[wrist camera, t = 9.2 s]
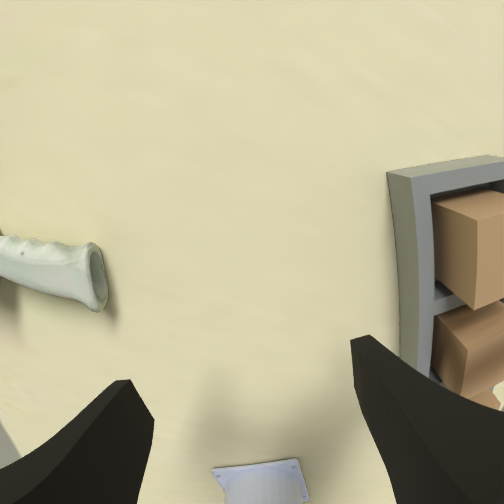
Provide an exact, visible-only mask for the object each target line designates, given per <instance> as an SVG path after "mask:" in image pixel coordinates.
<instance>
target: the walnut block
mask: <svg viewBox="0 0 504 504" xmlns="http://www.w3.org/2000/svg"><path fill="white" fill-rule="evenodd" d="M430 364H431V365H432V366H433V368H434V369H435V371H436V372H437V374H438V375H439V376H440V378H441V379H442V381H443V382H444V384H445V385H446V387H447V388H448V390H450V391H452V392H454V393H456V394H458V395H460V396H463V397H465V398H467V399H470V398H472V397H474V396H476V395H478V394H480V393H482V392H484V391H486V390H487V389H489V388H491V387H493V386H495V385H496V384H498V383H500V382H502V381H503V380H504V304H503V303H502V302H501V301H499V300H497V301H495V302H493V303H490V304H488V305H486V306H483V307H481V308H479V309H476V310H473V309H472V308H470V307H469V306H468V305H467V304H465V305H462V306H460V307H457V308H454V309H452V310H449V311H446V312H443V313H441V314H438V315H435V316H434V320H433V337H432V350H431V361H430Z"/></svg>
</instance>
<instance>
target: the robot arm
mask: <svg viewBox="0 0 504 504" xmlns="http://www.w3.org/2000/svg"><path fill="white" fill-rule="evenodd" d="M350 343H351V353H352V364H353V376H354V388H355V391H356V394H357V397H358V401H359V404H360V407H361V411H362V414H363V416H364V418H365V421H366V423H367V425H368V427H369V430H370V432H371V434H372V437H373V439H374V441H375V443H376V446H377V448H378V450H379V453H380V455H381V457H382V459H383V462H384V464H385V466H386V469H387V472H388V475H389V477H390V481H391V484H392V488H393V492H394V495H395V499H396V503H397V504H504V412H502V411H499V410H496V409H493V408H490V407H487V406H484V405H482V404H479V403H476V402H474V401H471V400H469V399H467V398H465V397H463V396H460V395H458V394H456V393H454V392H452V391H450V390H448V389H446V388H445V387H443V386H441V385H439V384H438V383H436V382H434V381H433V380H431V379H429V378H428V377H426V376H425V375H423V374H422V373H420V372H418V371H417V370H416V369H414V368H413V367H411V366H410V365H408V364H407V363H406V362H404V361H403V360H401V359H400V358H399V357H397V356H396V355H395V354H394V353H392V352H391V351H390V350H388V349H387V348H386V347H385V346H383V345H382V344H381V343H380V342H378V341H377V340H376V339H375V338H374V337H372V336H371V335H366V336H362V337H359V338H355V339H352V340H350ZM153 430H154V418H153V417H152V415H151V413H150V412H149V410H148V409H147V407H146V405H145V404H144V402H143V400H142V399H141V397H140V395H139V394H138V392H137V390H136V389H135V387H134V385H133V383H132V382H131V380H130V379H129V380H117V381H115V382H113V383H112V384H111V385H110V386H108V387H107V388H106V389H105V390H104V391H103V392H102V393H101V394H99V395H98V396H97V397H96V398H95V399H94V400H93V401H92V402H91V403H90V404H89V405H88V406H87V407H86V408H85V409H83V410H82V411H81V412H80V413H79V414H78V415H77V416H76V417H75V418H74V419H73V420H72V421H70V422H69V423H68V424H67V425H66V426H65V427H64V428H62V429H61V430H60V431H59V432H58V433H57V434H55V435H54V436H53V437H52V438H50V439H49V440H48V441H47V442H45V443H44V444H42V445H41V446H40V447H38V448H37V449H35V450H34V451H32V452H31V453H29V454H28V455H26V456H24V457H22V458H21V459H19V460H17V461H15V462H14V463H12V464H10V465H8V466H6V467H4V468H2V469H0V504H137V501H138V495H139V491H140V488H141V484H142V480H143V476H144V472H145V469H146V465H147V461H148V457H149V453H150V450H151V445H152V439H153ZM212 474H213V476H214V477H215V479H216V480H217V481H218V483H219V484H220V486H221V487H222V488H223V490H224V491H225V504H302V502H307V501H309V500H310V498H309V494H308V491H307V487H306V484H305V481H304V477H303V474H302V471H301V467H300V464H299V460H298V459H287V460H281V461H275V462H268V463H261V464H254V465H245V466H235V467H224V468H214V469H212Z"/></svg>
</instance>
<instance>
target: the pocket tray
mask: <svg viewBox="0 0 504 504" xmlns="http://www.w3.org/2000/svg"><path fill="white" fill-rule="evenodd" d="M386 173H387V179H388V185H389V192H390V199H391V206H392V214H393V223H394V232H395V242H396V253H397V266H398V282H399V305H400V359H401V360H403V361H404V362H406V363H407V364H408V365H410V366H411V367H413V368H414V369H416V370H417V371H418V372H420V373H422V374H423V375H425V376H426V377H428V378H429V379H431V380H433V381H434V382H436V383H438V384H439V385H441V386H443V387H445V388H446V389H448V388H447V387H446V385H445V384H444V382H443V381H442V379H441V378H440V376H439V375H438V374H437V372H436V371H435V369H434V368H433V366H432V365H431V364H430V361H431V350H432V337H433V320H434V316H435V315H438V314H441V313H443V312H446V311H449V310H452V309H454V308H457V307H460V306H462V305H465V304H467V305H468V306H469V307H470V308H472V309H473V310H476V309H479V308H481V307H483V306H486V305H488V304H490V303H493V302H495V301H497V300H499V301H501V302H502V303H503V304H504V157H497V156H490V155H485V156H478V157H471V158H465V159H458V160H452V161H446V162H439V163H433V164H428V165H422V166H416V167H410V168H405V169H399V170H394V171H388V172H386ZM493 388H494V386H493V387H491V388H489V389H487V390H486V391H484V392H482V393H480V394H478V395H476V396H474V397H472V398H470V399H469V400H471V401H474V402H476V403H479V404H482V405H484V406H487V407H490V408H493V409H496V410H499V407H500V404H501V403H500V402H499V401H498V399H497V398H496V397H495V395H494V394H493V393H492V391H493Z"/></svg>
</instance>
